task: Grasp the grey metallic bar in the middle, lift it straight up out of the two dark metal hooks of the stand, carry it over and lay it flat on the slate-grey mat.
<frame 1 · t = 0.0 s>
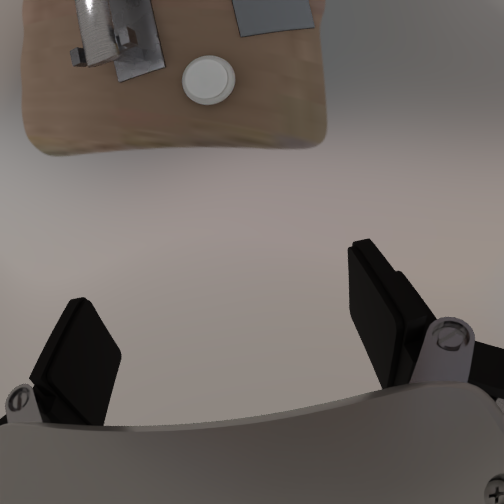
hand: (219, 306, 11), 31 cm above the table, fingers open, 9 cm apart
supplement bottle: (212, 81, 34), on the table
hook stand: (129, 13, 28), on the table
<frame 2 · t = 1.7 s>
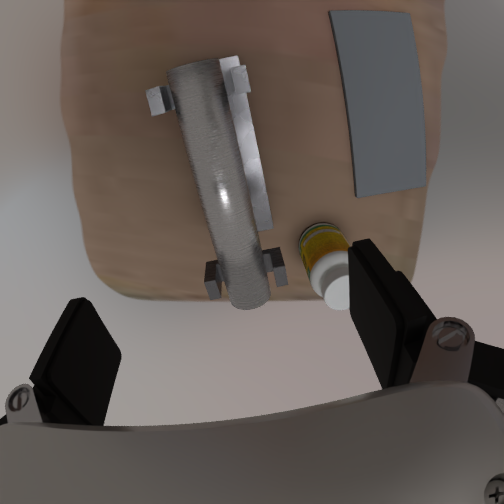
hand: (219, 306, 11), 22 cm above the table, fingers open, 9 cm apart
slate mat: (385, 101, 28), on the table
grey metallic bar: (223, 193, 19), point 12 cm above the table, touching hook stand
supplement bottle: (320, 241, 36), on the table
hook stand: (226, 150, 30), on the table
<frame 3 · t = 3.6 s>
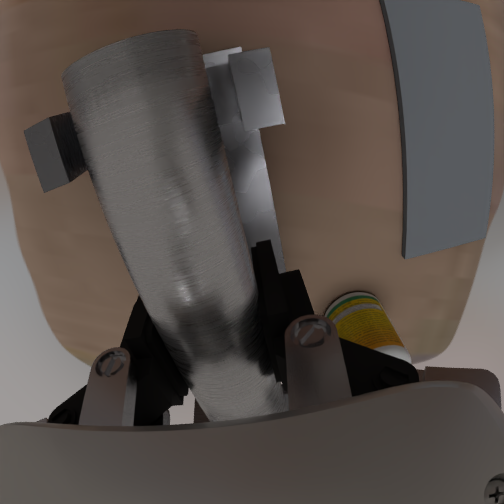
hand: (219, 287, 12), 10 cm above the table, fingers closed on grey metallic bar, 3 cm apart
slate mat: (450, 125, 18), on the table
grey metallic bar: (218, 340, 9), point 12 cm above the table, touching gripper, hook stand
supplement bottle: (350, 313, 26), on the table
hook stand: (223, 196, 20), on the table
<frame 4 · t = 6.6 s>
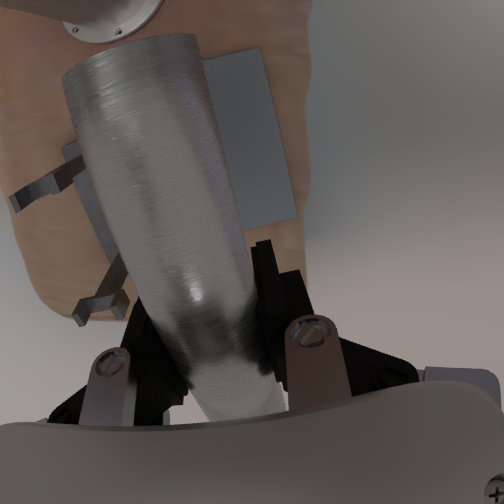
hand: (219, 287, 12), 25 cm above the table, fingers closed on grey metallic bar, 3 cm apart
slate mat: (239, 143, 33), on the table
grey metallic bar: (218, 342, 9), point 28 cm above the table, touching gripper
hook stand: (109, 205, 35), on the table
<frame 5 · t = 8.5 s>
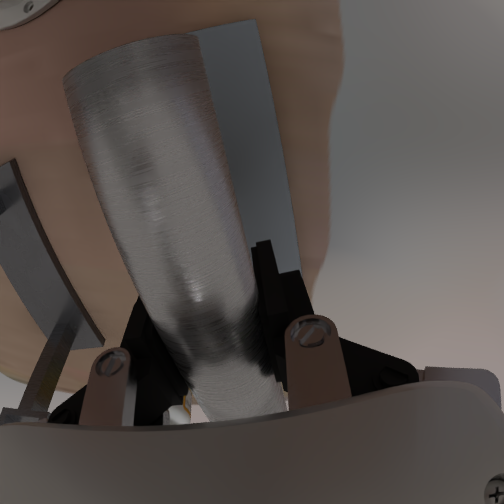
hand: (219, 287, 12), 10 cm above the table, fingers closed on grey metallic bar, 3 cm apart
slate mat: (216, 185, 20), on the table
grey metallic bar: (219, 342, 9), point 13 cm above the table, touching gripper
supplement bottle: (166, 356, 28), on the table
hook stand: (34, 268, 22), on the table
when the fingers open (2 cm above the table, at t = 10.1 s): grey metallic bar drops 2 cm, resting on slate mat.
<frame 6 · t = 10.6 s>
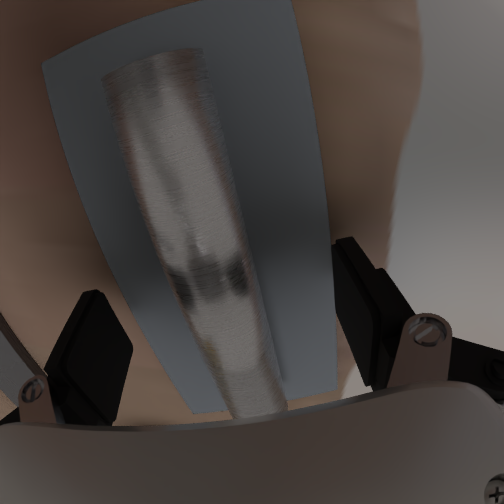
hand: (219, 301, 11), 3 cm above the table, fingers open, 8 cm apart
slate mat: (220, 262, 13), on the table
grey metallic bar: (218, 293, 11), point 2 cm above the table, touching slate mat
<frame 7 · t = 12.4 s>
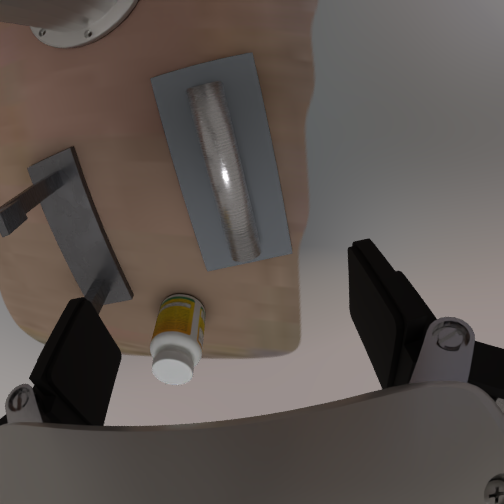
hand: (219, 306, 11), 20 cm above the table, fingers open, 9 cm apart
slate mat: (226, 167, 29), on the table
grey metallic bar: (225, 174, 27), point 2 cm above the table, touching slate mat
supplement bottle: (182, 309, 36), on the table
hook stand: (80, 233, 31), on the table
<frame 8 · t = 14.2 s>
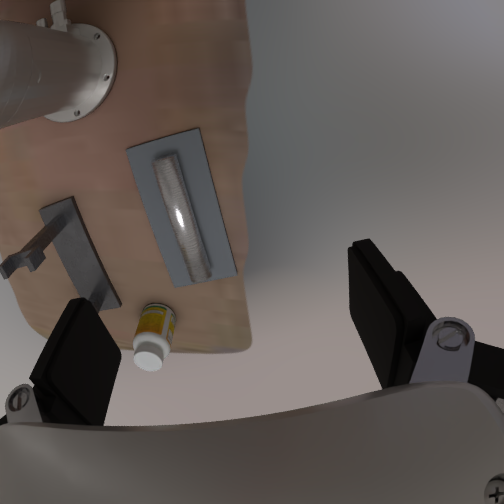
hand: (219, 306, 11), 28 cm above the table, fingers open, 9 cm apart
slate mat: (184, 214, 39), on the table
grey metallic bar: (182, 221, 37), point 2 cm above the table, touching slate mat
supplement bottle: (159, 314, 47), on the table
hook stand: (81, 258, 41), on the table
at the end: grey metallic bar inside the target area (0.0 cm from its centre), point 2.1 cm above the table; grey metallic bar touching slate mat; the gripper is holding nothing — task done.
